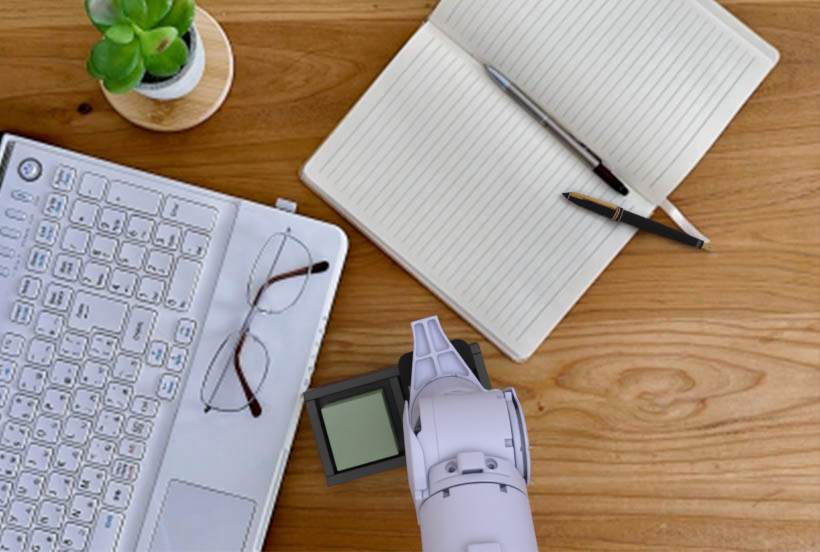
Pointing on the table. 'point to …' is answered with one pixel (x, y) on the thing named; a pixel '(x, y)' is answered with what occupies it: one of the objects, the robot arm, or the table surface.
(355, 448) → the two-compartment tray
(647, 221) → the fountain pen
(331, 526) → the table surface
